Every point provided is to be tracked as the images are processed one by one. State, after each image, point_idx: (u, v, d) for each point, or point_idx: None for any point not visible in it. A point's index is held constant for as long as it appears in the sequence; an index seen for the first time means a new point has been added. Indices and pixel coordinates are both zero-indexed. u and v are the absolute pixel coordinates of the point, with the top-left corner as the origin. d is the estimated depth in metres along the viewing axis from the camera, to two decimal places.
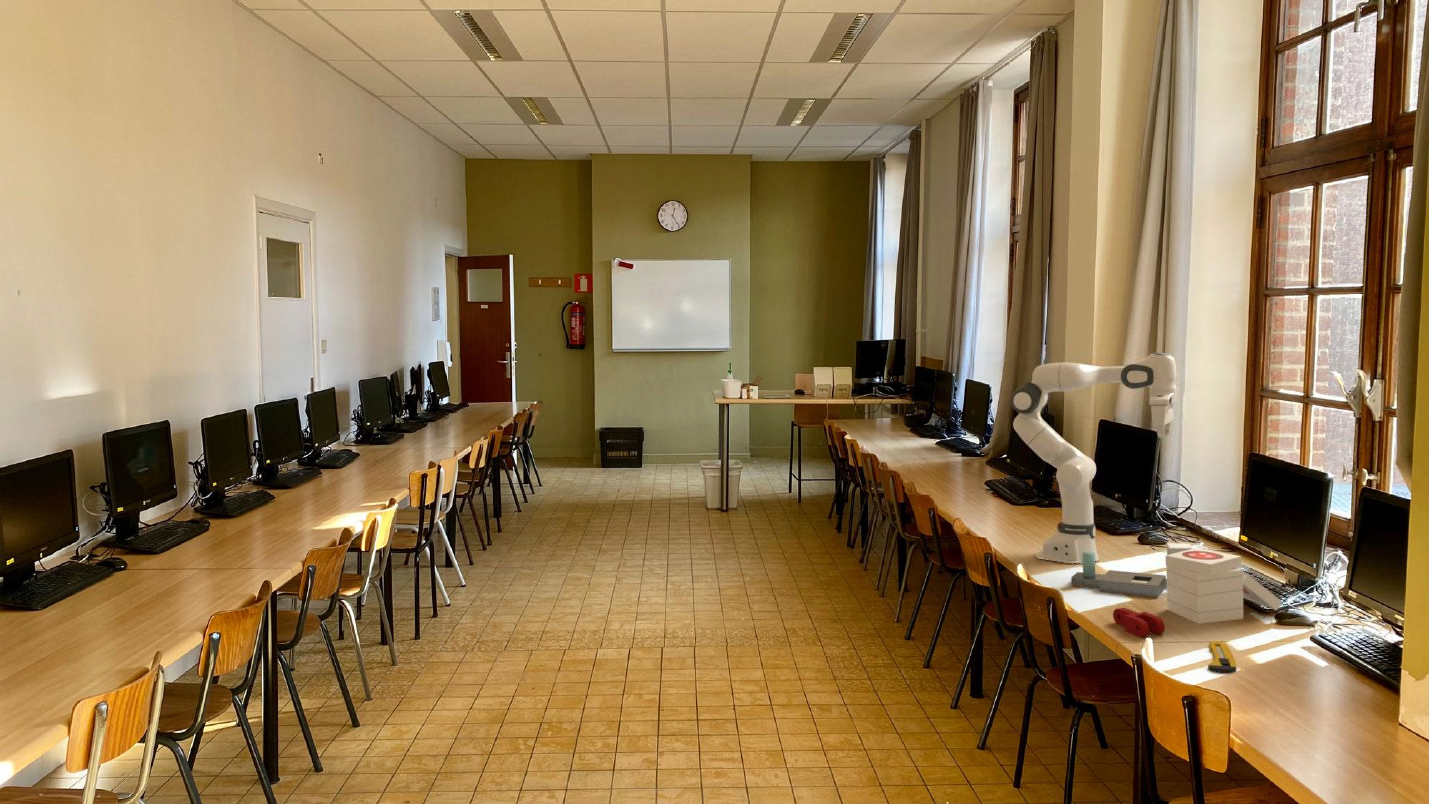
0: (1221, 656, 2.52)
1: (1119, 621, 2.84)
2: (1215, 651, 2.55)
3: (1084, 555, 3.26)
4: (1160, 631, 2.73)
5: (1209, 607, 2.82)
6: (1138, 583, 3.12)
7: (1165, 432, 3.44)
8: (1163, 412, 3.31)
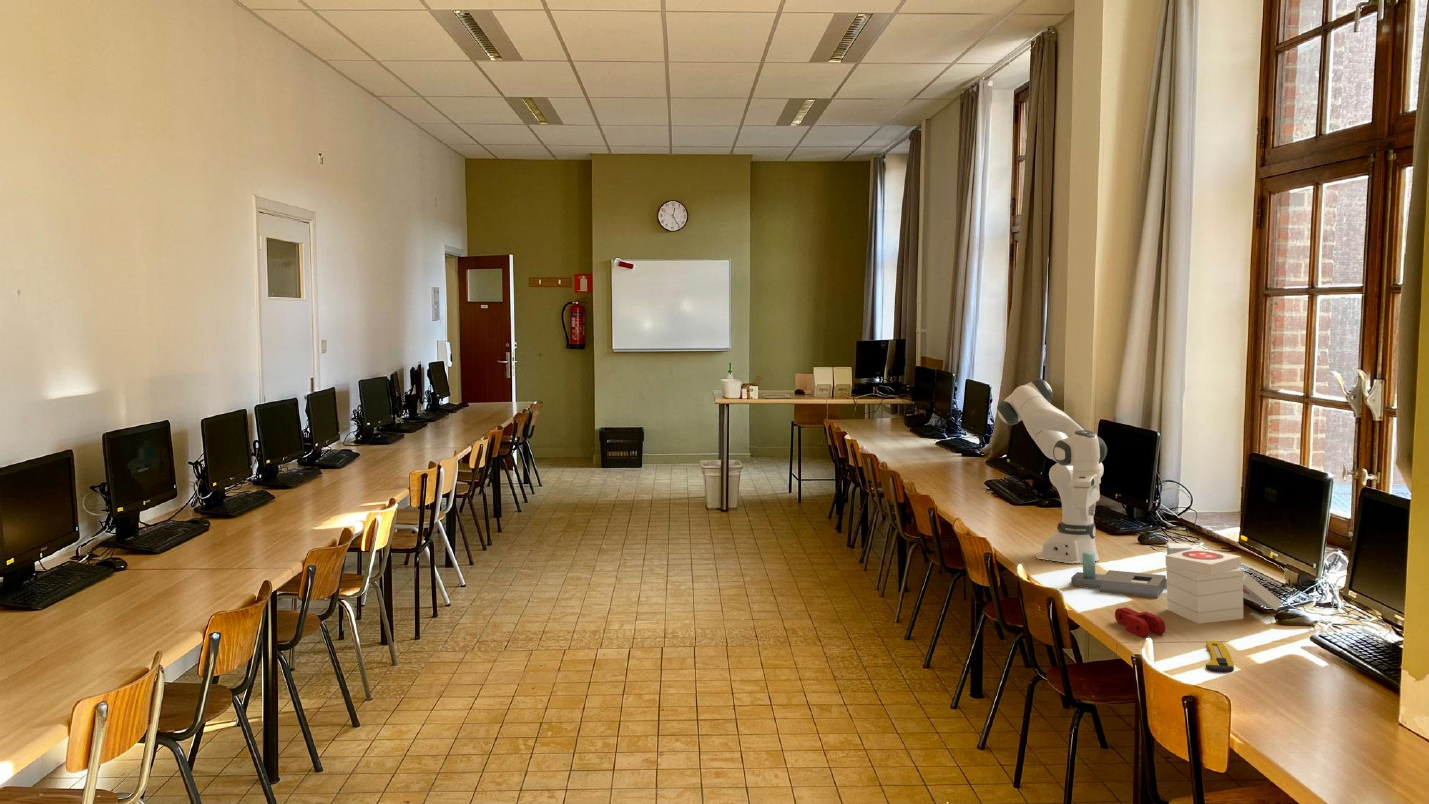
0: (1218, 656, 2.53)
1: (1121, 621, 2.84)
2: (1212, 650, 2.56)
3: (1084, 555, 3.26)
4: (1160, 631, 2.73)
5: (1209, 607, 2.82)
6: (1138, 583, 3.12)
7: (1090, 513, 3.29)
8: (1085, 495, 3.16)
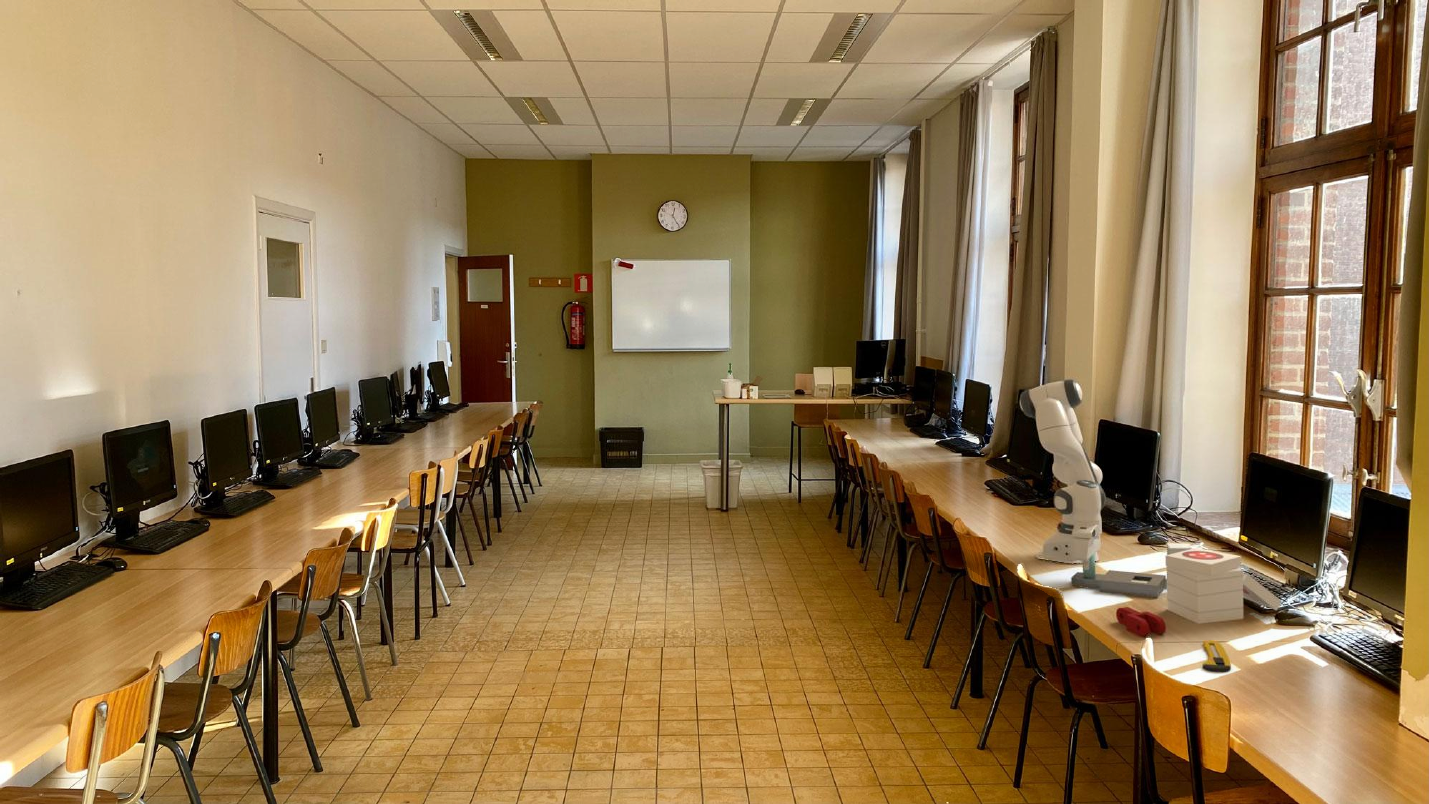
0: (1215, 655, 2.53)
1: (1122, 620, 2.85)
2: (1209, 650, 2.56)
3: None
4: (1161, 631, 2.73)
5: (1209, 607, 2.82)
6: (1138, 583, 3.12)
7: None
8: (1086, 546, 3.17)
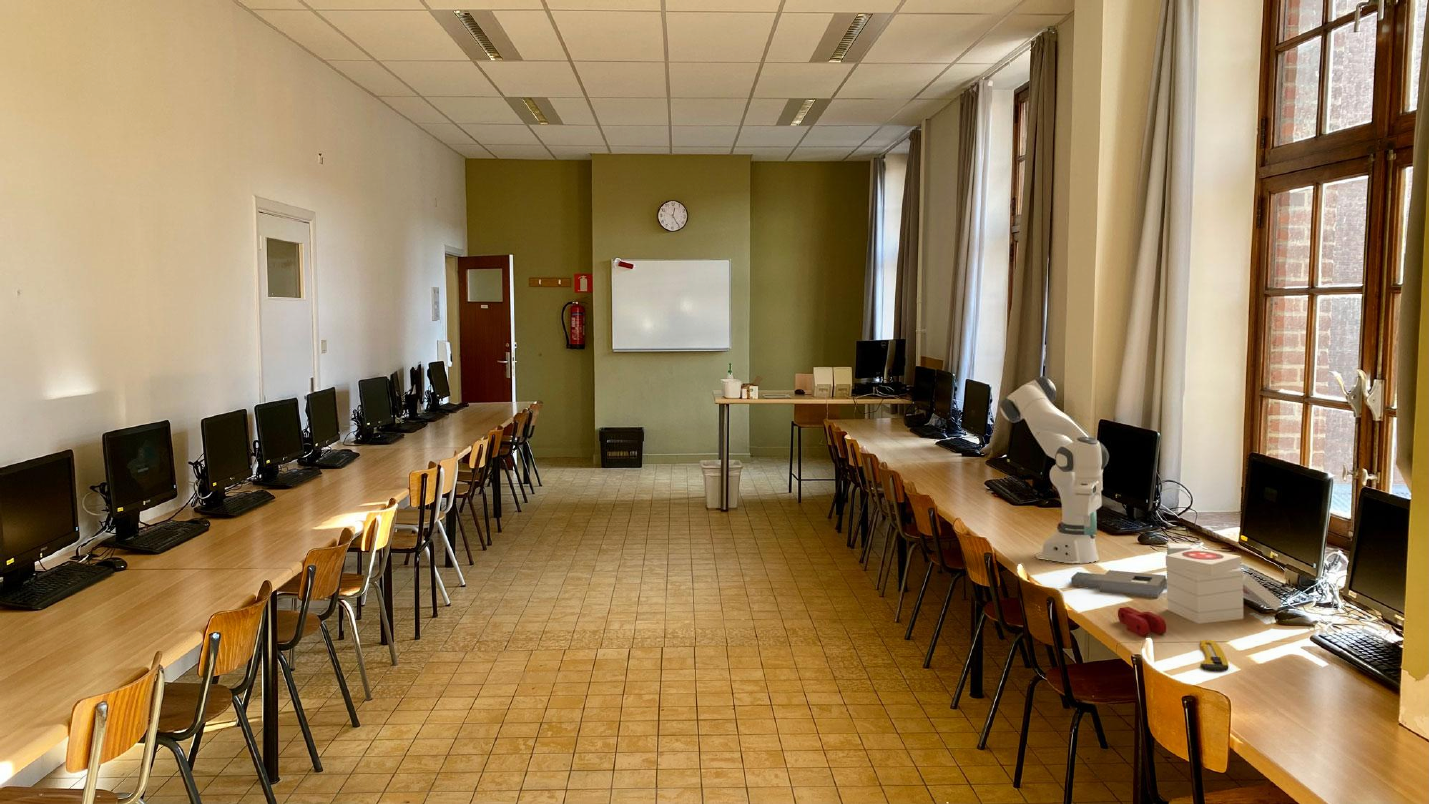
0: (1212, 655, 2.54)
1: (1123, 620, 2.85)
2: (1206, 649, 2.57)
3: None
4: (1161, 631, 2.73)
5: (1209, 607, 2.82)
6: (1138, 583, 3.12)
7: None
8: (1086, 502, 3.16)
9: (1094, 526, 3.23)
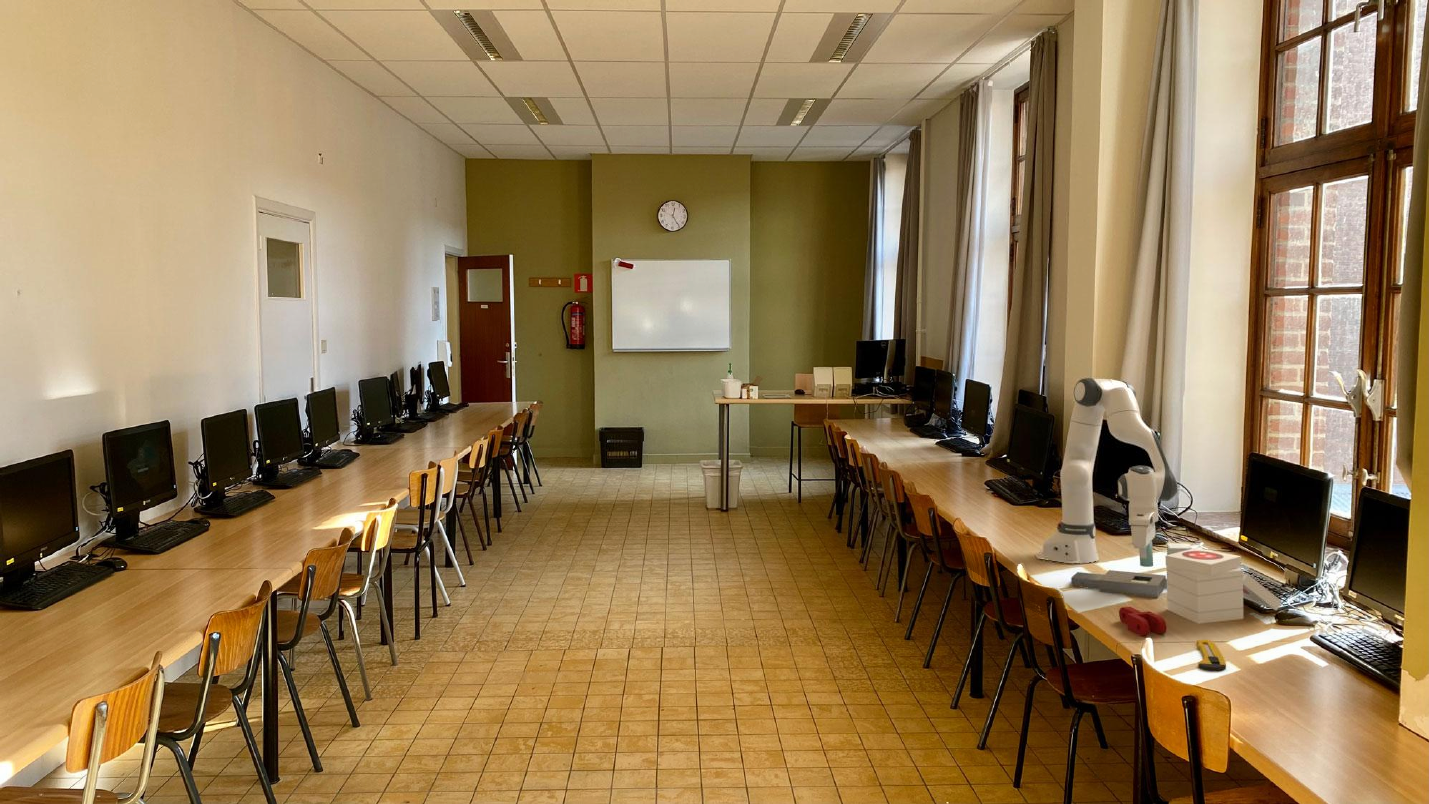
0: (1210, 654, 2.54)
1: (1124, 620, 2.85)
2: (1203, 649, 2.57)
3: None
4: (1161, 631, 2.73)
5: (1209, 607, 2.82)
6: (1138, 583, 3.12)
7: None
8: (1144, 534, 3.07)
9: (1151, 557, 3.15)
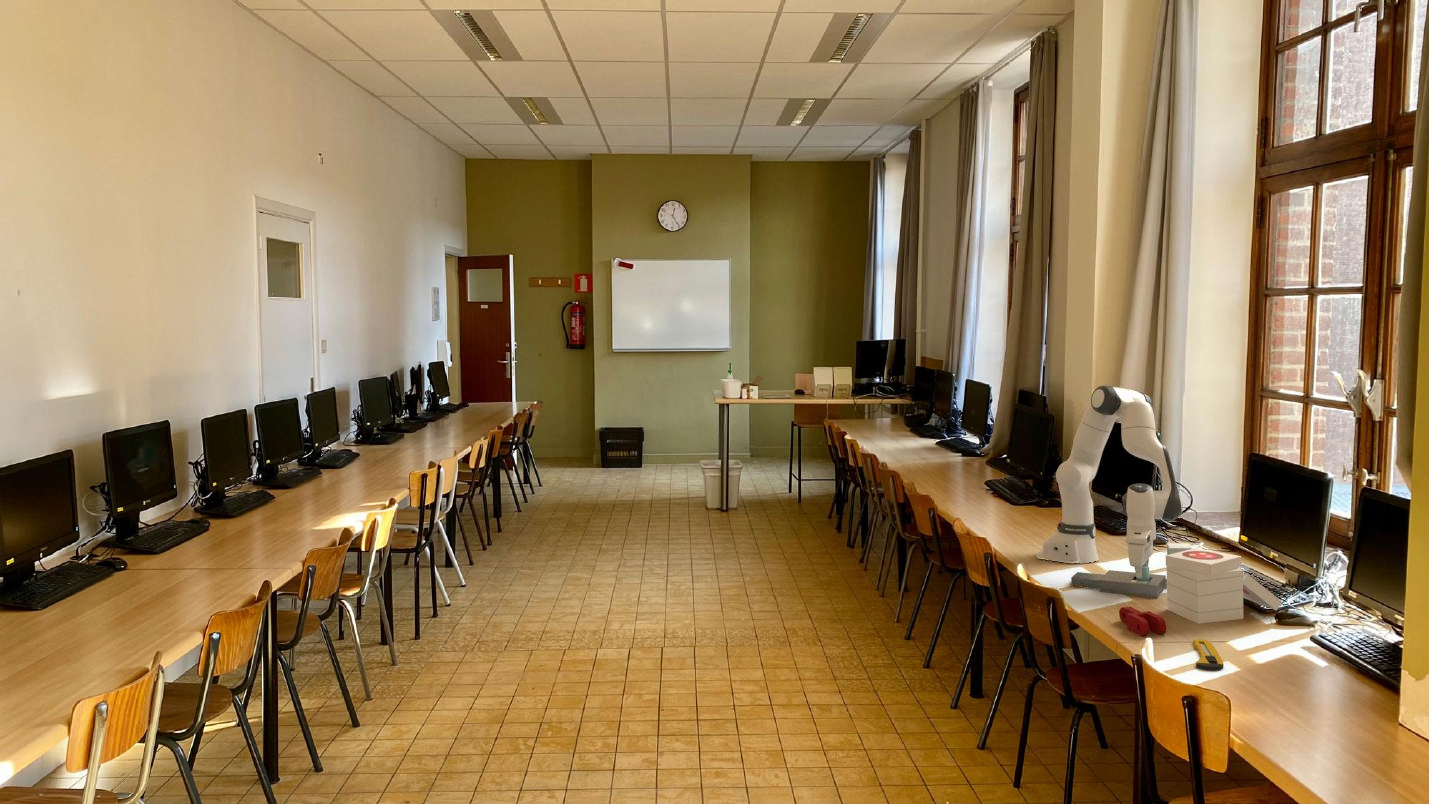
0: (1207, 654, 2.55)
1: (1124, 620, 2.85)
2: (1200, 648, 2.58)
3: None
4: (1161, 631, 2.73)
5: (1209, 607, 2.82)
6: (1138, 583, 3.12)
7: None
8: (1141, 552, 3.07)
9: None
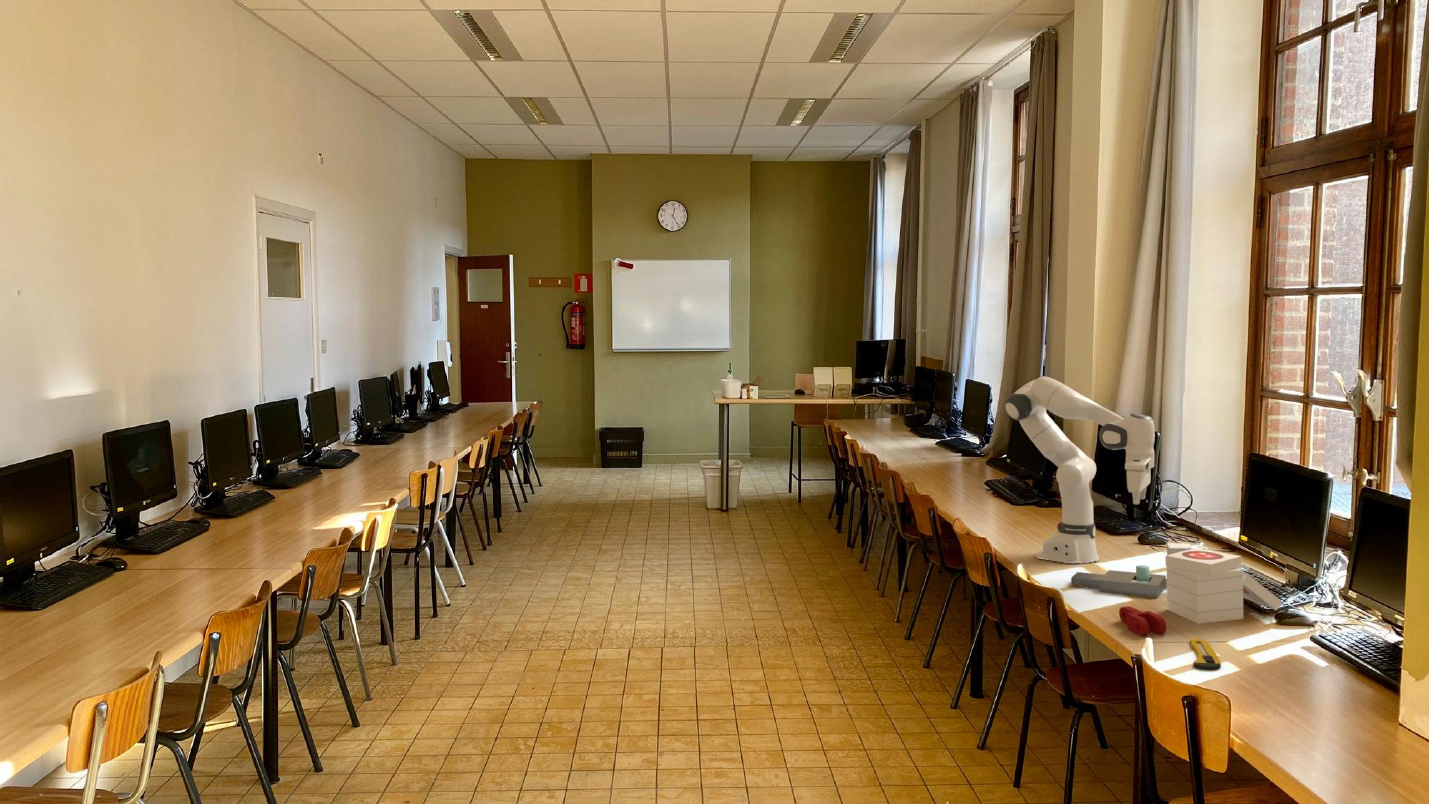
0: (1204, 653, 2.55)
1: (1124, 619, 2.85)
2: (1197, 648, 2.58)
3: (1138, 569, 3.16)
4: (1161, 630, 2.73)
5: (1209, 607, 2.82)
6: (1138, 583, 3.12)
7: (1141, 496, 3.28)
8: (1139, 478, 3.15)
9: None
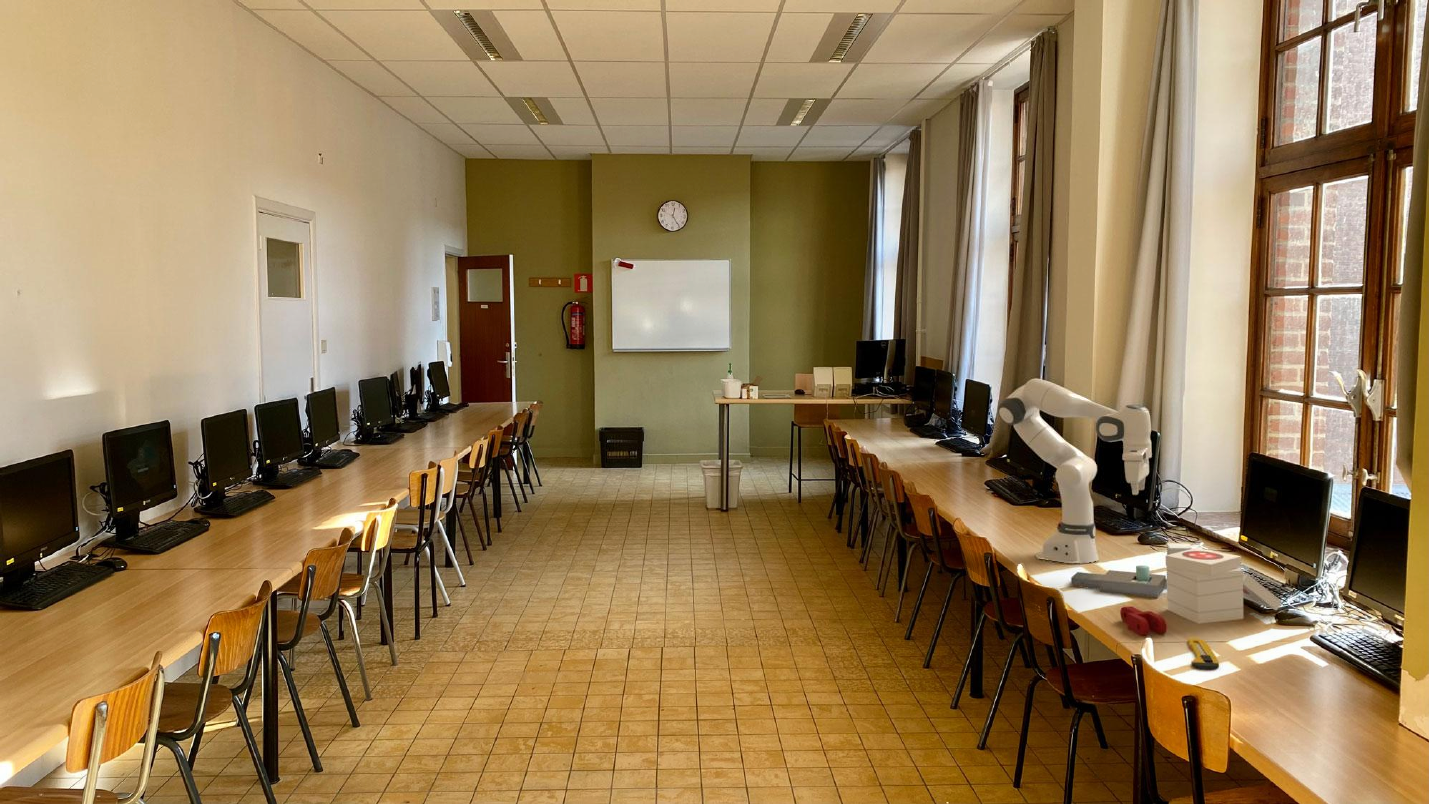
0: (1202, 653, 2.55)
1: (1125, 619, 2.85)
2: (1195, 647, 2.58)
3: (1138, 569, 3.16)
4: (1162, 630, 2.73)
5: (1209, 607, 2.82)
6: (1138, 583, 3.12)
7: (1140, 487, 3.30)
8: (1137, 468, 3.17)
9: None
